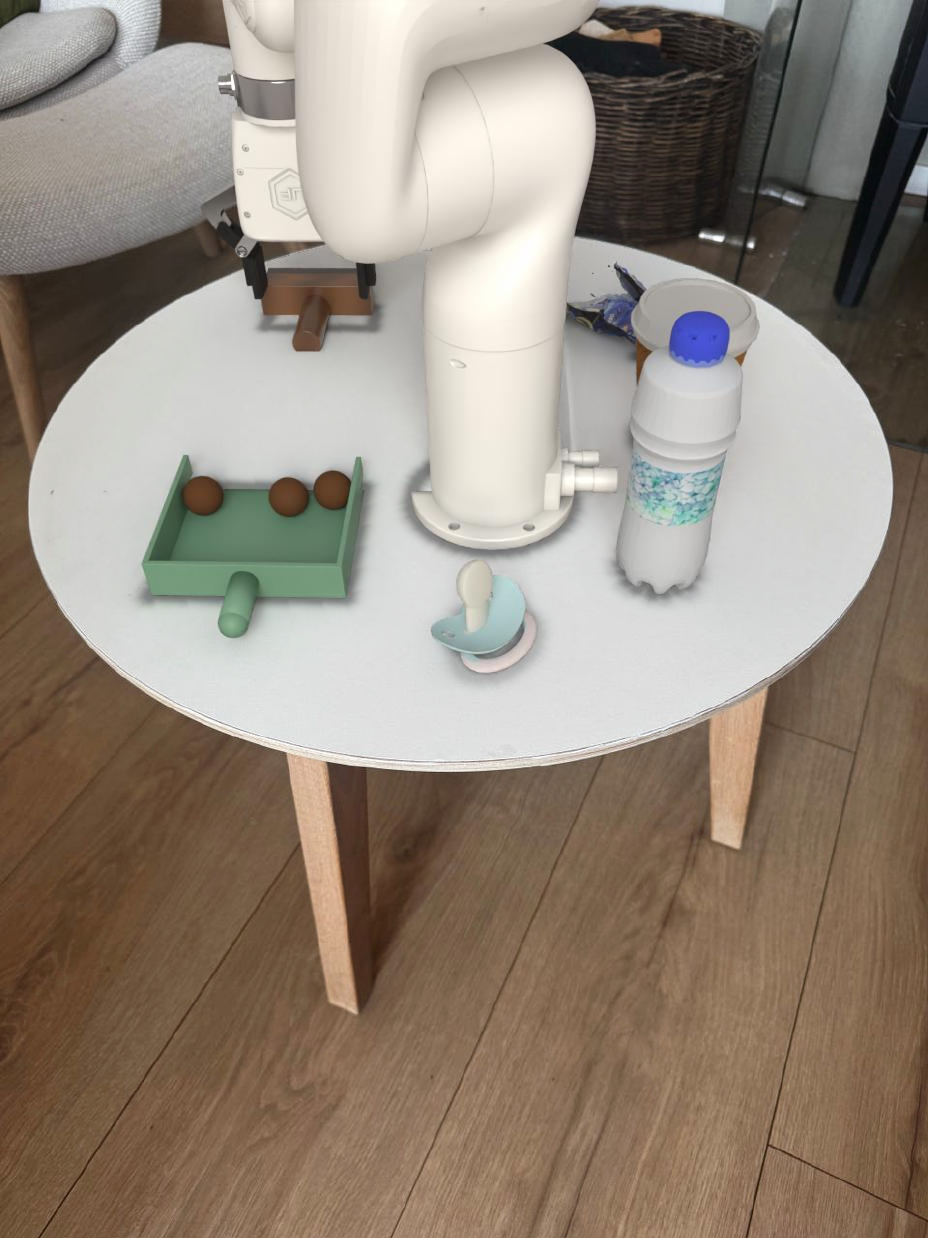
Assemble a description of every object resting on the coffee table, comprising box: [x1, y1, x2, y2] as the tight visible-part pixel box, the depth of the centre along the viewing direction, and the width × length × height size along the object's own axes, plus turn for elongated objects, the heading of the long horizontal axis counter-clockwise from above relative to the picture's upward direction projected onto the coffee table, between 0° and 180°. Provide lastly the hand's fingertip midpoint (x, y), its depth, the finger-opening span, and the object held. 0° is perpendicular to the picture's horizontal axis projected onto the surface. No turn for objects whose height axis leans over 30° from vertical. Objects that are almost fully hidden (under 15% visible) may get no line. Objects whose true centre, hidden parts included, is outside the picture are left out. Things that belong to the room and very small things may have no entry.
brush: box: [260, 267, 375, 353], centre depth 93 cm, size 10×4×10 cm
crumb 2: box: [269, 476, 309, 517], centre depth 75 cm, size 3×3×3 cm
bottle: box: [615, 311, 744, 595], centre depth 64 cm, size 7×7×20 cm
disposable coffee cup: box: [631, 277, 761, 388], centre depth 78 cm, size 10×10×12 cm
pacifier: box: [430, 559, 538, 674], centre depth 64 cm, size 7×6×6 cm
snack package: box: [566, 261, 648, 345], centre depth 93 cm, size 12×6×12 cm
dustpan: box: [141, 454, 365, 639], centre depth 71 cm, size 17×14×3 cm
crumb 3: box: [312, 469, 352, 510], centre depth 76 cm, size 3×3×3 cm
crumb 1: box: [183, 475, 223, 516], centre depth 75 cm, size 3×3×3 cm
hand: (313, 292), depth 91 cm, fingers open, 9 cm apart
